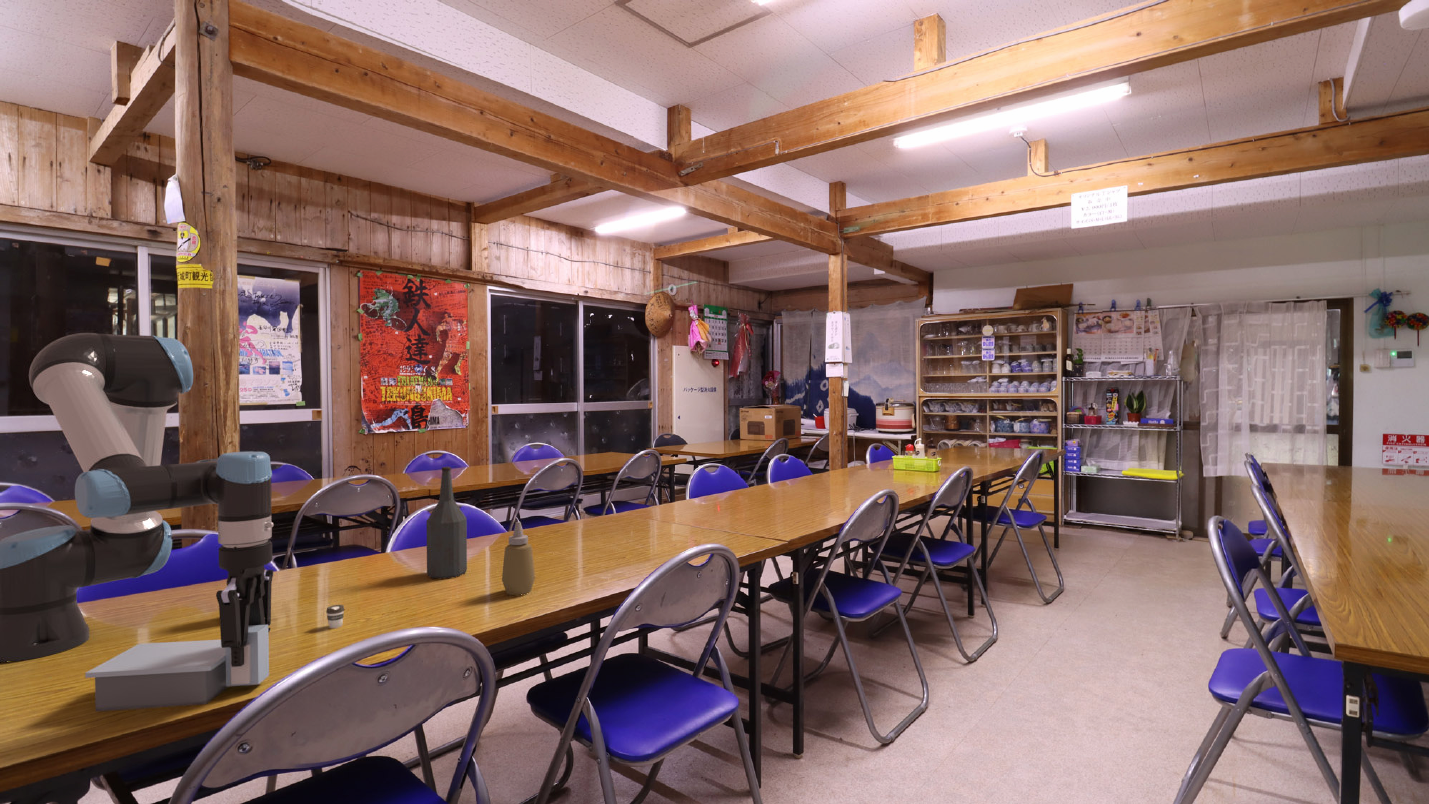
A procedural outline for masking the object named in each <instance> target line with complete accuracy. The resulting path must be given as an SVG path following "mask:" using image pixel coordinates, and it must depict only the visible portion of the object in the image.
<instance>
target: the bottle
mask: <svg viewBox="0 0 1429 804" xmlns="http://www.w3.org/2000/svg"><path fill="white" fill-rule="evenodd" d="M451 470H452V467H450V466H442V467H441V480H440V481H441V482H440V491H439V492H440V493H439V499H438V502H437V504H436V505H435V507H434V509H433V510H432V512H431V513H430V515H428V519H427V520H426V574H427V576H428V577H429V576H430V577H429V578H431V579H433V578H441V579H440V580H443V579H442V578H447V579H450V578H449V577H455V578H457V577H456V576H459V577H461V576H463V575H466V572H467V570H468V551H467V550H468V541H467V540H468V538H467V537H468V535H467V534H468V533H467V532H468V530H467V529H468V527H467V524H468V523H467V517H466V515H465V514H464V512H463V511H462V509H461V508H460V506H459V505H458V503H456V501H455V498H454V491H453V489H454V488H453V480H452V472H451ZM462 574H463V575H462ZM460 575H461V576H460Z"/></svg>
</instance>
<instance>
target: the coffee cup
mask: <svg viewBox="0 0 1429 804" xmlns="http://www.w3.org/2000/svg"><path fill="white" fill-rule="evenodd" d="M325 611H326V614H327V615H326V616H327V617H326V618H327V619H326V620H327V621H328V628H329V629H338V628H341V627H342V626H343V622H344V621H343V619H344V614H345V612H344V611H345V607H344V605H343V604H333V605H331V606H330V605H329V606H327V608H326V610H325Z"/></svg>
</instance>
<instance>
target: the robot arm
mask: <svg viewBox="0 0 1429 804" xmlns="http://www.w3.org/2000/svg"><path fill="white" fill-rule="evenodd" d="M191 359H192V358H191V357H190V354H189V351H188V349H187V348H186V347H185V345H184V344H183V343H182V342H181V341H180V340H178V339H176V338H172V337H162V336H156V335H138V334H136V335H135V334H134V335H133V334H113V333H112V334H110V333H109V334H107V333H96V332H81V333H74V334H69V335H65V336H63V337H59V338H57V339H56V340H53V341H52V342H50V343H49V344H47V345H46V346H44V347H43V348H42V349H41V350H40V351H38V353H37V354H36V356H35V357H33V360H32V362H31V364H30V367H29V372H28V378H29V385H30V387H31V389H32V391H33V393H34V394H35V395H34V396H35V397H36V398H37V399H38V400H40V401H41V402H43V404H46V405H49V407H50V409H51V411H52V414H53V415H54V417H55V420H56V421H57V424H58V425H59V427H60V429H61V430H62V433H63V434H64V436H65V438H66V440H67V442H68V444H69V447H70V448H71V450H72V452H73V454H74V456H75V458H76V459H77V461H78V464H79V466H80V468H81V469H82V473H80V474H79V475H78V477H77V478H76V480H75V485H74V499H75V501H76V508H77V510H78V512H79V513H80V514H81V516H84V517H85V518H89V519H90V518H91V520H90V524H89V529H85V530H77V529H76V527H75V526H74V525H70V524H68V525H65V524H64V525H62V524H61V525H55V526H48V527H42V528H36V529H31V530H27V531H24V532H20V533H16V534H13V535H9V536H7V537H5V538H3V539H1V540H0V662H7V661H16V662H21V660H23V661H29V660H34V659H39V658H43V657H47V656H52V655H55V654H58V653H59V654H60V653H62V651H63V652H65V651H68V649H69V650H72V649H74V648H77V647H78V646H80V645H82V644H84V643H86V642H87V641H89V639H90V627H89V625H88V623H87V621H86V619H85V618H84V615H83V613H82V610H81V608H80V607H79V605H78V601H77V599H78V597H77V590H78V589H80V588H85V587H92V586H96V585H100V584H105V583H110V582H116V581H120V580H126V579H137V578H140V577H142V576H145V575H151V574H154V573H156V572H158V571H159V570H162V569H163V567H164V566H165V565H167V562H168V560H169V558H170V555H171V551H172V548H173V539H172V535H173V534H172V528H171V525H170V524H169V523H168V522H167V521H166V520H163V516H162V515H161V514H160V513H159V512H158V511H164V510H173V509H180V508H187V507H188V508H189V507H196V506H204V505H213V504H214V505H215V504H216V505H217V533H218V534H217V543H218V544H220V547H219V548H218V568H220V569H221V570H226V571H227V572H228V573H227V579H226V587H225V588H224V589H223V590H222V589H221V590H217V591H216V593H215V594H216V595H215V597H216V600H217V603H218V612H219V613H218V614H219V630H220V640H221V647H222V648H226V647H230V648H231V685H233V684H249V683H250V682H251V649H250V644H247V639H248V626H251V625H268V634H269V633H270V631H271V627H270V625H271V623H272V622H271V621H272V586H273V585H272V583H273V577H274V570H273V569H266V568H265V566H267V565H269V564H270V563H271V562H272V561H273V542H272V541H271V540H270V539H271V538H272V536H273V534H272V533H273V530H272V529H273V527H274V525H275V524H274V522H272V477H273V471H272V465H271V457H270V455H269V454H268V453H266V452H264V451H236V452H235V451H233V452H225V453H222V454H220V455H219V457H218V458H213V459H202V460H198V461H196V462H188V463H187V462H185V463H176V464H175V463H174V464H173V463H172V464H162V463H161V462H162V454H163V453H162V452H163V446H164V437H165V429H166V421H167V413H168V412H167V411H168V410H169V409H171V408H172V407H174V406H176V405H177V404H178V399H179V394H182V395H183V394H185V393H189V391H191V388H192V387H193V383H194V371H193V370H194V369H193V364H192V363H193V362H192V360H191ZM239 599H242V600H239ZM76 646H77V647H76ZM73 647H74V648H73ZM28 659H29V660H28ZM7 663H8V662H7Z"/></svg>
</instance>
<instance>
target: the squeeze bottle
mask: <svg viewBox="0 0 1429 804" xmlns="http://www.w3.org/2000/svg"><path fill="white" fill-rule="evenodd" d="M522 526H523V525H522V523H521V521H516V522H515V524H514V529H513V533H512V535H510V536H508V545H506V546H505V548H504V556H503V565H502V573H501V575H502V576H501V581H502V584H503V587H504V590H505V593H506V595H508V594H509V595H508V596H511V595H519V596H522V595H521V594H525V595H528V594H529V592H530V591H531V592H532V588H533V585H534V582H535V579H536V574H535V565H534V564H535V563H534V556H533V547H532V545H531V543H529V536H528V535H526V534H524V530H523V527H522ZM531 592H530V593H531ZM527 593H528V594H527Z"/></svg>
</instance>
